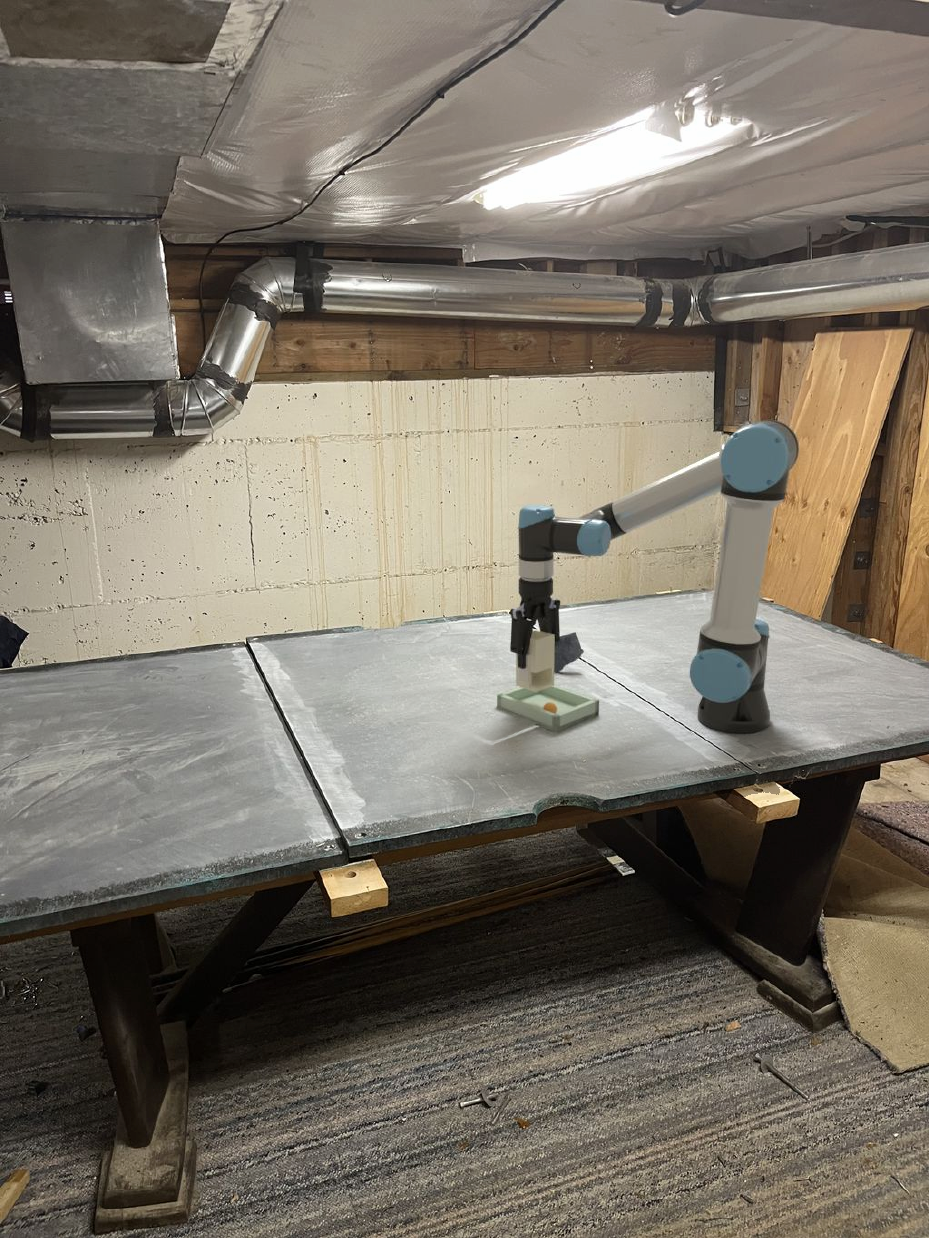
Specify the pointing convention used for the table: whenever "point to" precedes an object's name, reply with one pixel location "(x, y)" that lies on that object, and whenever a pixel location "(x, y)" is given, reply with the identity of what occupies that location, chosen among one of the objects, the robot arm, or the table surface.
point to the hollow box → (539, 662)
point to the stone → (566, 651)
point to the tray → (567, 702)
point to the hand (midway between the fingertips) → (535, 677)
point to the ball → (550, 707)
